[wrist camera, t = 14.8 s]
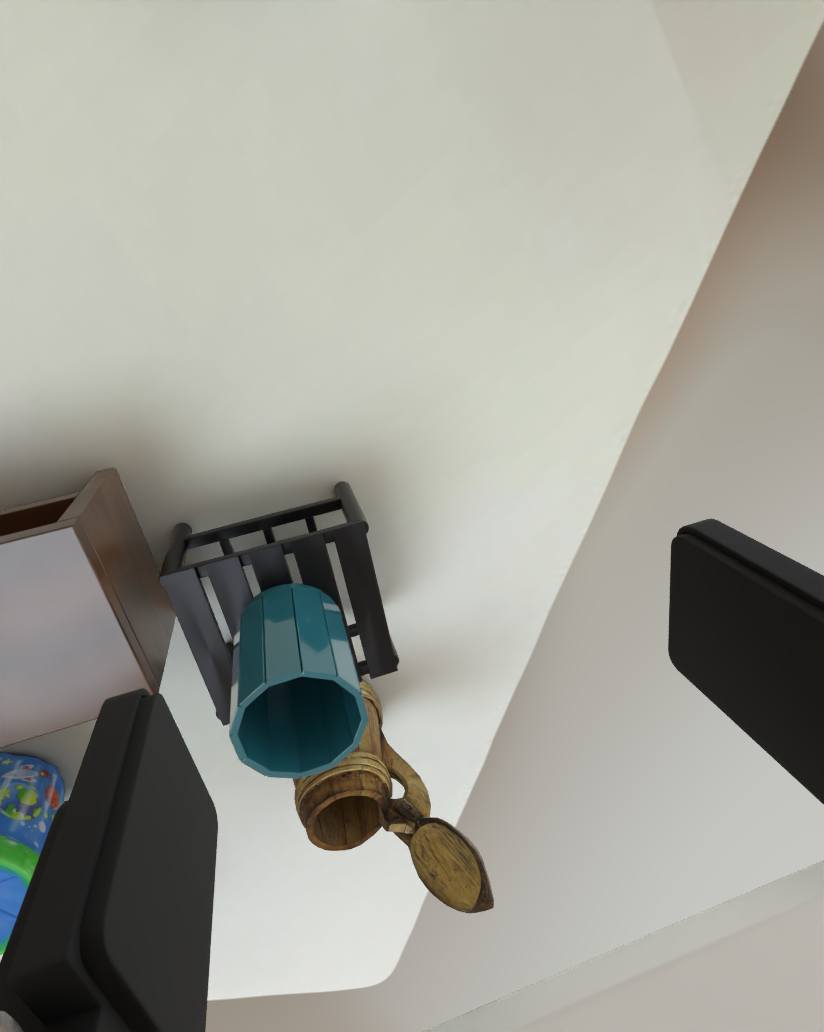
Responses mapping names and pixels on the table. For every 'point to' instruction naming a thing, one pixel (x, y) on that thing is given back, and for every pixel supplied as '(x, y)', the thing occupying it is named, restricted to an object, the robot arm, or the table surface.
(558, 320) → the table surface
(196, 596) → the rack
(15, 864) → the snack cup
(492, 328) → the table surface
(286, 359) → the table surface
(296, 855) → the table surface
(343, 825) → the wooden mug
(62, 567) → the dark wooden cube
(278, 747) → the cup
